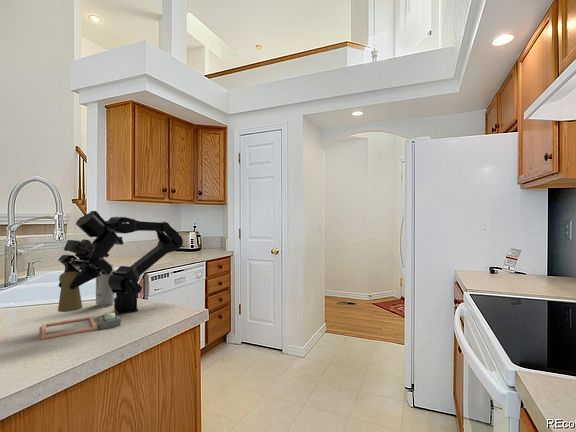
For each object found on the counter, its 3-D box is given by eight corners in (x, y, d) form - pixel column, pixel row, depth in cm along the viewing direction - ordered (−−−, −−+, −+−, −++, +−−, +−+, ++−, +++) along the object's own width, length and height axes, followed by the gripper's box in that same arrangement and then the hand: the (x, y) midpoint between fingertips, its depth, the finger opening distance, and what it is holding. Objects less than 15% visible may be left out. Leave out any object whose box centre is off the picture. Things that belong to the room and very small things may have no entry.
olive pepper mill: (82, 309, 93) (82, 272, 93) (57, 313, 90) (56, 274, 90) (82, 304, 98) (81, 269, 98) (58, 308, 95) (57, 271, 95)
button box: (117, 321, 100) (117, 314, 100) (120, 325, 96) (120, 319, 96) (99, 324, 97) (99, 317, 97) (101, 329, 93) (101, 322, 93)
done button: (114, 319, 98) (114, 312, 98) (115, 322, 96) (115, 314, 96) (103, 321, 97) (104, 313, 97) (105, 323, 94) (105, 315, 94)
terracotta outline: (92, 318, 103) (92, 316, 103) (97, 329, 93) (97, 327, 93) (42, 326, 95) (42, 324, 95) (41, 339, 85) (41, 337, 85)
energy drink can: (94, 304, 119) (94, 264, 119) (111, 301, 123) (112, 263, 123) (97, 307, 114) (98, 266, 114) (116, 304, 118) (116, 265, 118)
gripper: (64, 229, 101) (24, 269, 91) (102, 230, 93) (63, 274, 84) (89, 251, 109) (54, 290, 99) (126, 254, 101) (92, 296, 91)
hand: (65, 287), depth 93 cm, fingers closed on olive pepper mill, 5 cm apart
